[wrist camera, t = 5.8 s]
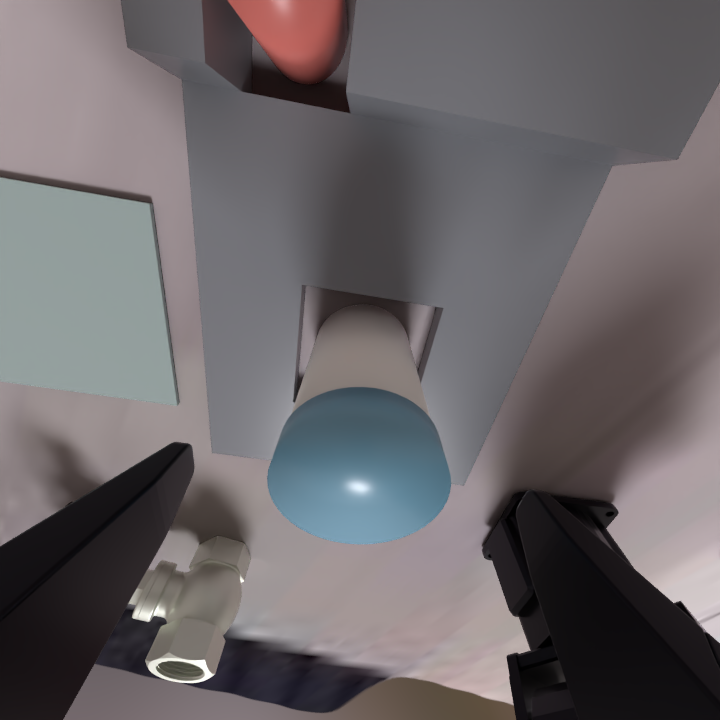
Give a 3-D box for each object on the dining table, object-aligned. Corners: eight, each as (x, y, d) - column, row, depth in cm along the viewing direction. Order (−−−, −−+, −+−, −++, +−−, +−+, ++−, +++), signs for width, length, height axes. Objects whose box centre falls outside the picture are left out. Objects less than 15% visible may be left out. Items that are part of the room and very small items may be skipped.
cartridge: (421, 311, 14) (477, 432, 7) (398, 395, 16) (424, 552, 9) (318, 294, 14) (269, 403, 7) (309, 382, 16) (265, 534, 9)
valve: (267, 533, 22) (84, 478, 20) (232, 655, 16) (-33, 599, 14) (241, 579, 25) (78, 536, 23) (204, 697, 19) (-20, 656, 17)
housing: (656, 23, 10) (794, -56, 7) (459, 471, 19) (477, 527, 16) (186, -86, 9) (87, -236, 6) (219, 439, 18) (189, 491, 15)
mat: (152, 203, 12) (149, 203, 12) (179, 403, 17) (177, 405, 17) (-188, 143, 11) (-197, 143, 11) (-64, 369, 16) (-69, 371, 16)
